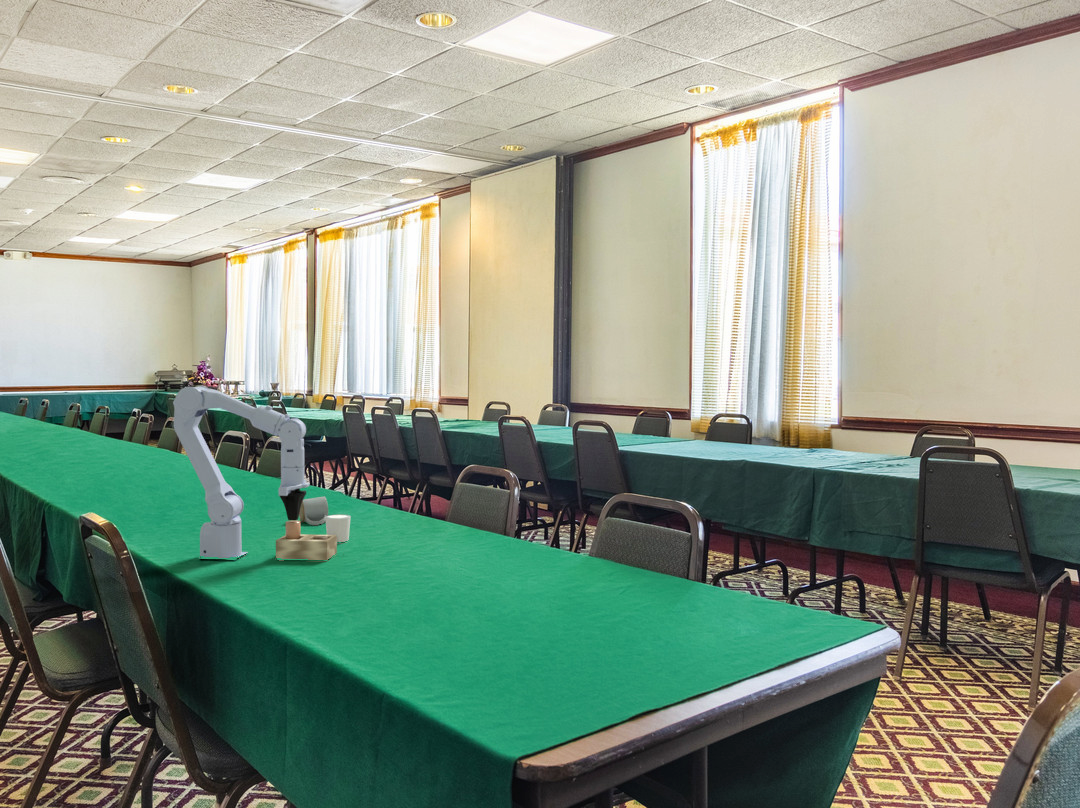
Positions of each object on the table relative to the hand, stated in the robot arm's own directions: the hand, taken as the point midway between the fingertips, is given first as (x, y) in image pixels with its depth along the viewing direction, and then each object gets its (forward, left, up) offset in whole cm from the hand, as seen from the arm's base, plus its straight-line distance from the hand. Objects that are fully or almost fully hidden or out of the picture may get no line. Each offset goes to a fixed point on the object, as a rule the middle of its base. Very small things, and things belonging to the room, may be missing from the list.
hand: (293, 519), depth 215 cm
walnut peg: (+7, 0, -9) cm, 11 cm away
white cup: (+5, +20, -10) cm, 23 cm away
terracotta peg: (0, 0, -5) cm, 5 cm away
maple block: (+3, 0, -10) cm, 10 cm away
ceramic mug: (-10, +47, -10) cm, 49 cm away
